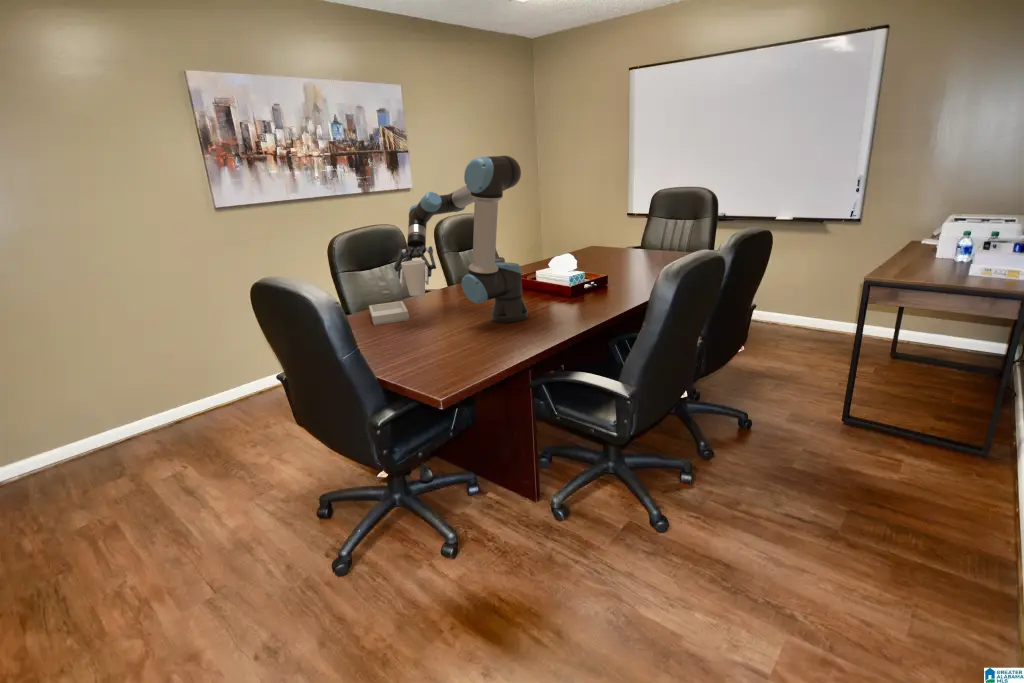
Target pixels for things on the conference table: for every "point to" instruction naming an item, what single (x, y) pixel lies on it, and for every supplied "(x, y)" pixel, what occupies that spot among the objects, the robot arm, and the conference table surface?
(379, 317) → the grey tray
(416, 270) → the foam cup
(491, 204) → the robot arm
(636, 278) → the conference table surface
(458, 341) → the conference table surface
